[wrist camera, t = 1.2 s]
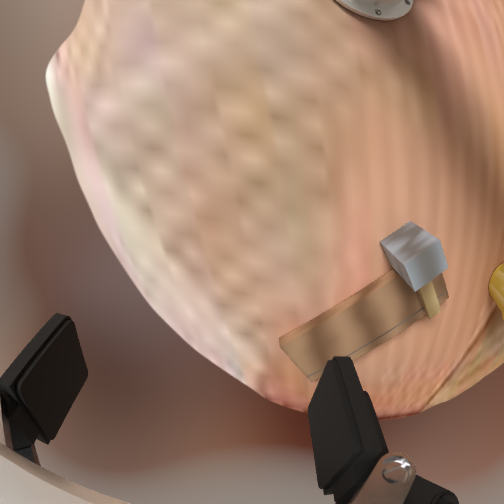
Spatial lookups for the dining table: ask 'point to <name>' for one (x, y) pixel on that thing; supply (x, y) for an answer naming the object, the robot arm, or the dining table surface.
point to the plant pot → (498, 287)
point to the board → (357, 323)
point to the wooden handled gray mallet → (417, 261)
